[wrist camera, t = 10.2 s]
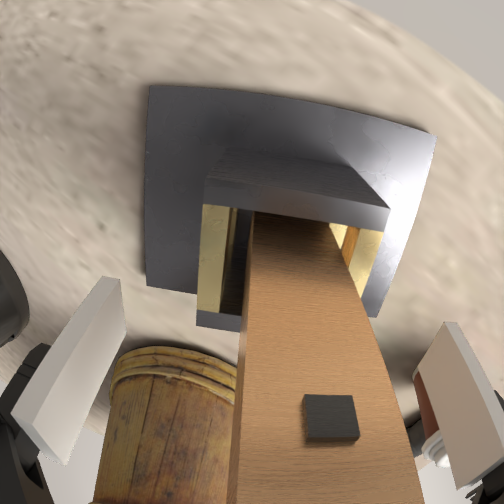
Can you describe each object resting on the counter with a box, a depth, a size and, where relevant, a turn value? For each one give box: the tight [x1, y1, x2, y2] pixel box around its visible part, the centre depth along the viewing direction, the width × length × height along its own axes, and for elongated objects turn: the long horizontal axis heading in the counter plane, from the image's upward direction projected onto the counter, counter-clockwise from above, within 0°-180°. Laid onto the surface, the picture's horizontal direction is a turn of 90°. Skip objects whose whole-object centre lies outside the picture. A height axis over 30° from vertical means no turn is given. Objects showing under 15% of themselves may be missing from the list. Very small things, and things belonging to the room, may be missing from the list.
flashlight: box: [406, 419, 426, 458], centre depth 37 cm, size 15×5×5 cm, turn 141°
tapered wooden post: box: [226, 210, 425, 504], centre depth 13 cm, size 4×4×20 cm
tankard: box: [89, 346, 237, 504], centre depth 25 cm, size 18×24×25 cm
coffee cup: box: [412, 367, 451, 468], centre depth 26 cm, size 9×9×12 cm
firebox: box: [144, 86, 437, 333], centre depth 19 cm, size 20×16×9 cm
